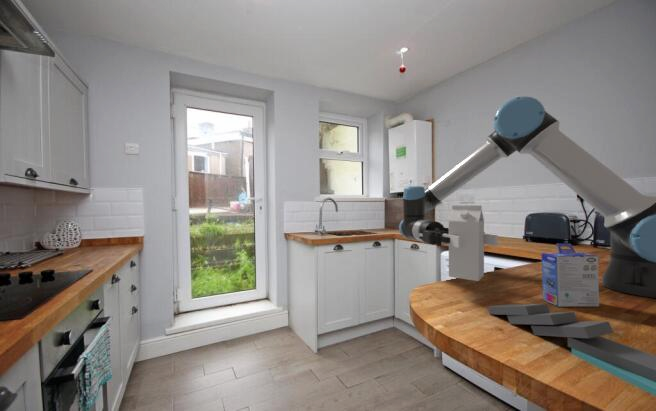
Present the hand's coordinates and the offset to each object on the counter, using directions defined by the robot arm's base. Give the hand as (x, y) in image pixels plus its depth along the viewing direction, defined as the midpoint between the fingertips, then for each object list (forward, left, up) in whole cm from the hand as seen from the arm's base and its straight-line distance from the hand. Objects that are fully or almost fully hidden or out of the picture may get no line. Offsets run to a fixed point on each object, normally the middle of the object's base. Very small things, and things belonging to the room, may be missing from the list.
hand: (478, 241), depth 68 cm
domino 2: (-4, +11, -14) cm, 19 cm away
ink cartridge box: (-21, -2, -15) cm, 26 cm away
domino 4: (-8, +21, -13) cm, 26 cm away
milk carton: (+1, -4, -10) cm, 11 cm away
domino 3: (-6, +16, -14) cm, 22 cm away
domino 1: (-2, +7, -14) cm, 16 cm away
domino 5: (-8, +22, -15) cm, 28 cm away
